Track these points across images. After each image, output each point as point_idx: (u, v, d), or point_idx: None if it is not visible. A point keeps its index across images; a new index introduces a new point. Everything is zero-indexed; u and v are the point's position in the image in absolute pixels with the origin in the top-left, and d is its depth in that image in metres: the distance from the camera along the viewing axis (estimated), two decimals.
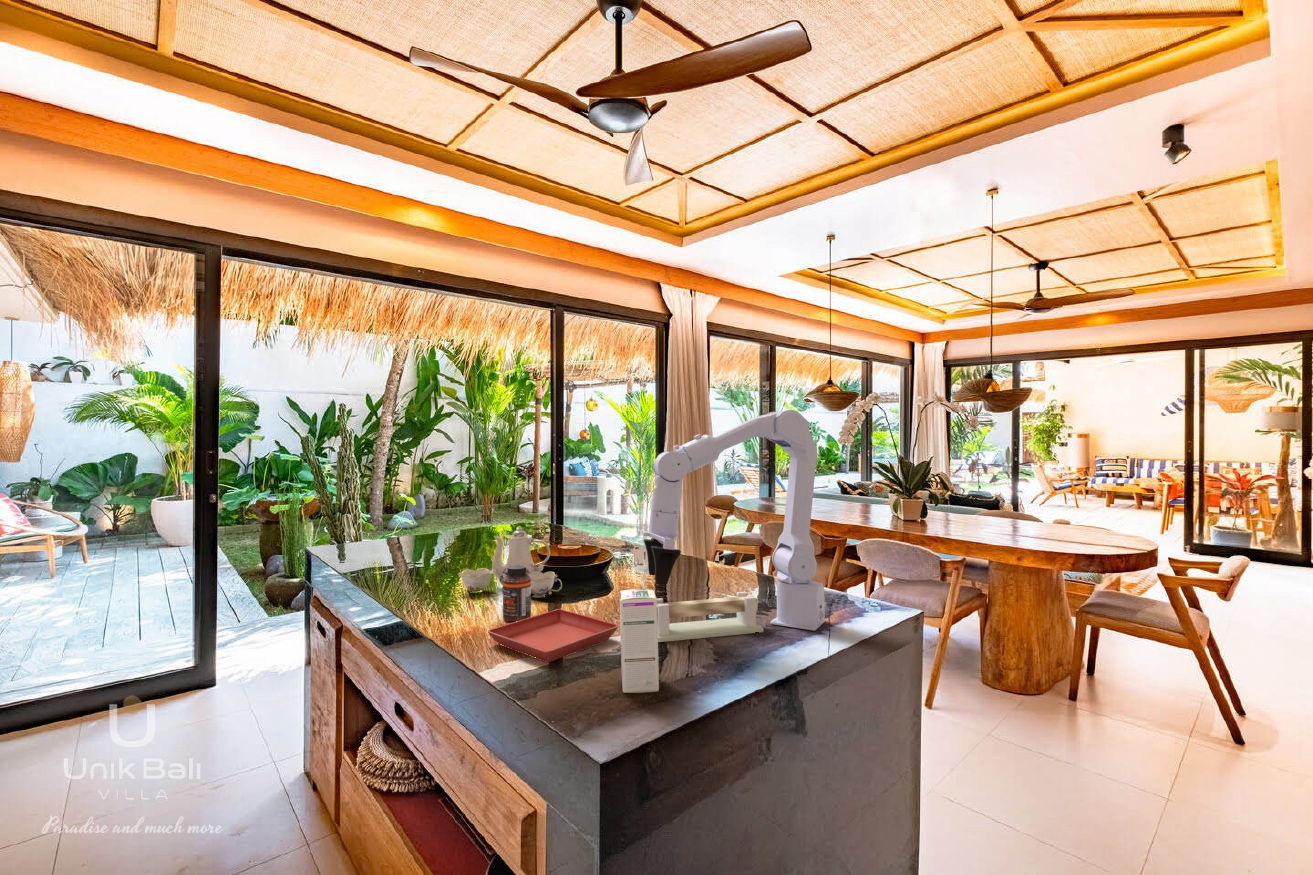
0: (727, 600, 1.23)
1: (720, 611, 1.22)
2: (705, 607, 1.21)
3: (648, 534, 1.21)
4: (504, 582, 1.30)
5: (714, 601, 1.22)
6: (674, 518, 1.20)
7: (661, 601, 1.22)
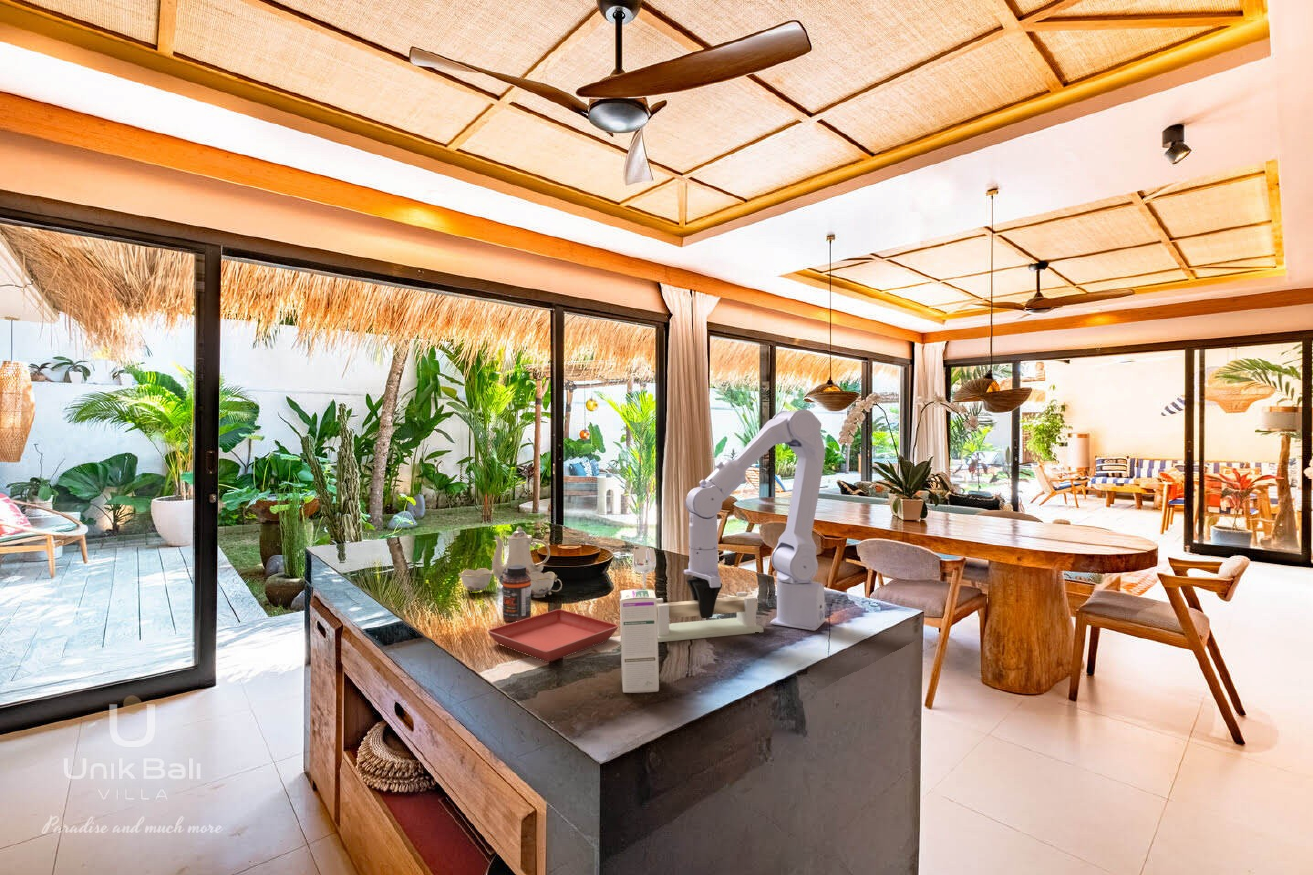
0: (727, 600, 1.23)
1: (720, 611, 1.22)
2: None
3: (690, 573, 1.21)
4: (504, 582, 1.30)
5: None
6: (714, 554, 1.21)
7: (661, 601, 1.22)
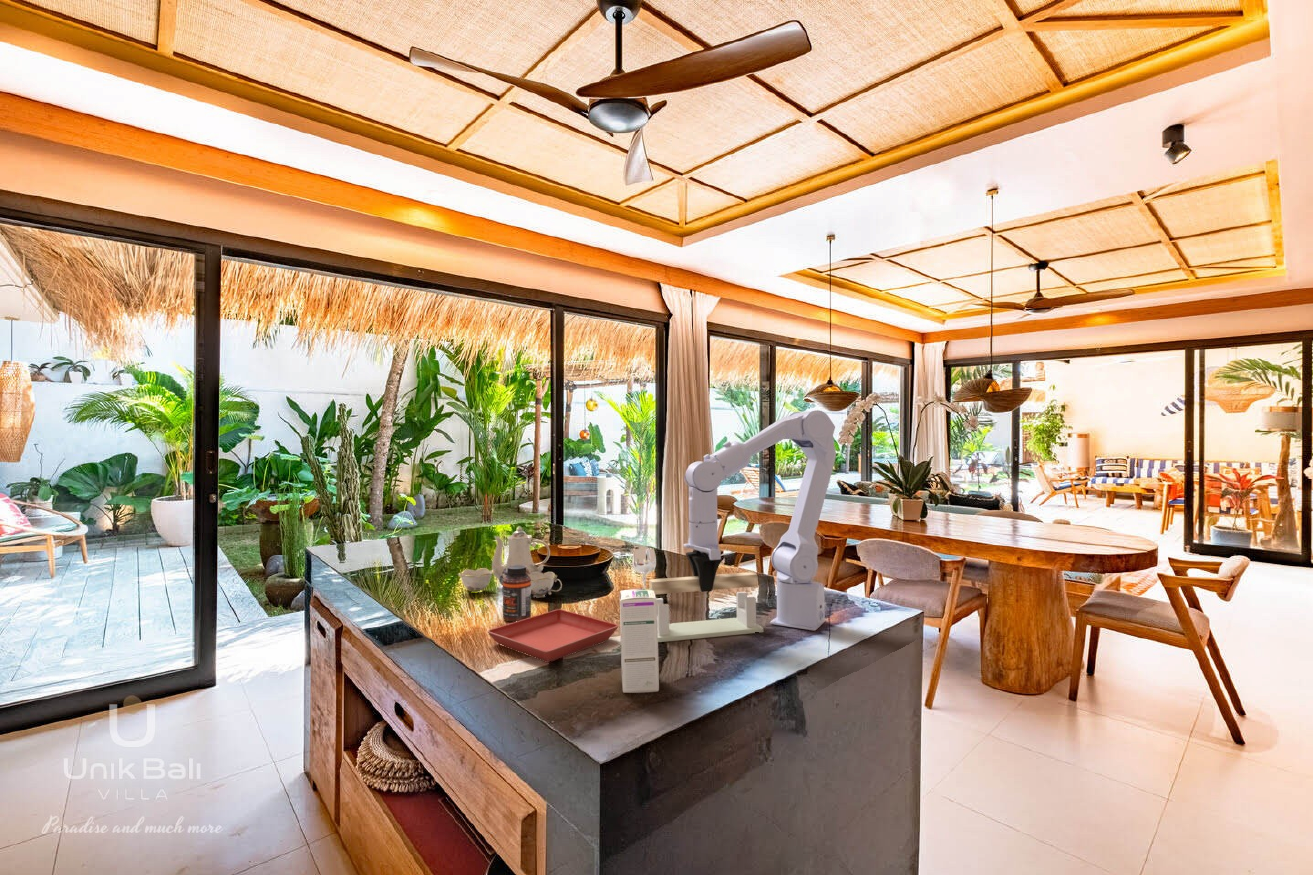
0: (727, 576, 1.23)
1: (720, 587, 1.22)
2: None
3: (690, 546, 1.21)
4: (504, 582, 1.30)
5: None
6: (714, 527, 1.21)
7: (661, 601, 1.22)
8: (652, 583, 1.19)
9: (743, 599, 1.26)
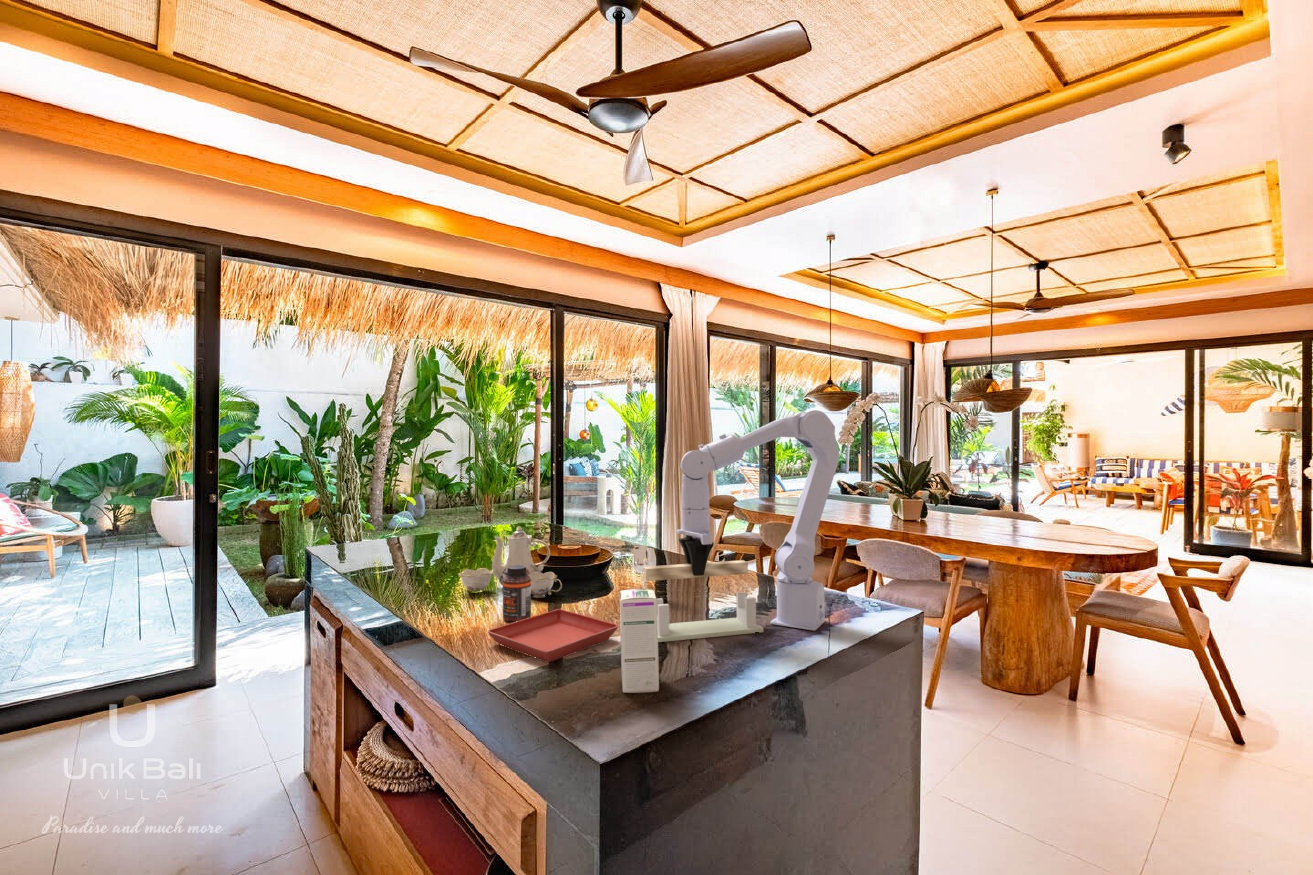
0: (718, 563, 1.28)
1: (712, 574, 1.27)
2: None
3: (683, 532, 1.25)
4: (504, 582, 1.30)
5: (706, 564, 1.27)
6: (706, 514, 1.25)
7: (661, 601, 1.22)
8: (646, 570, 1.23)
9: (743, 599, 1.26)
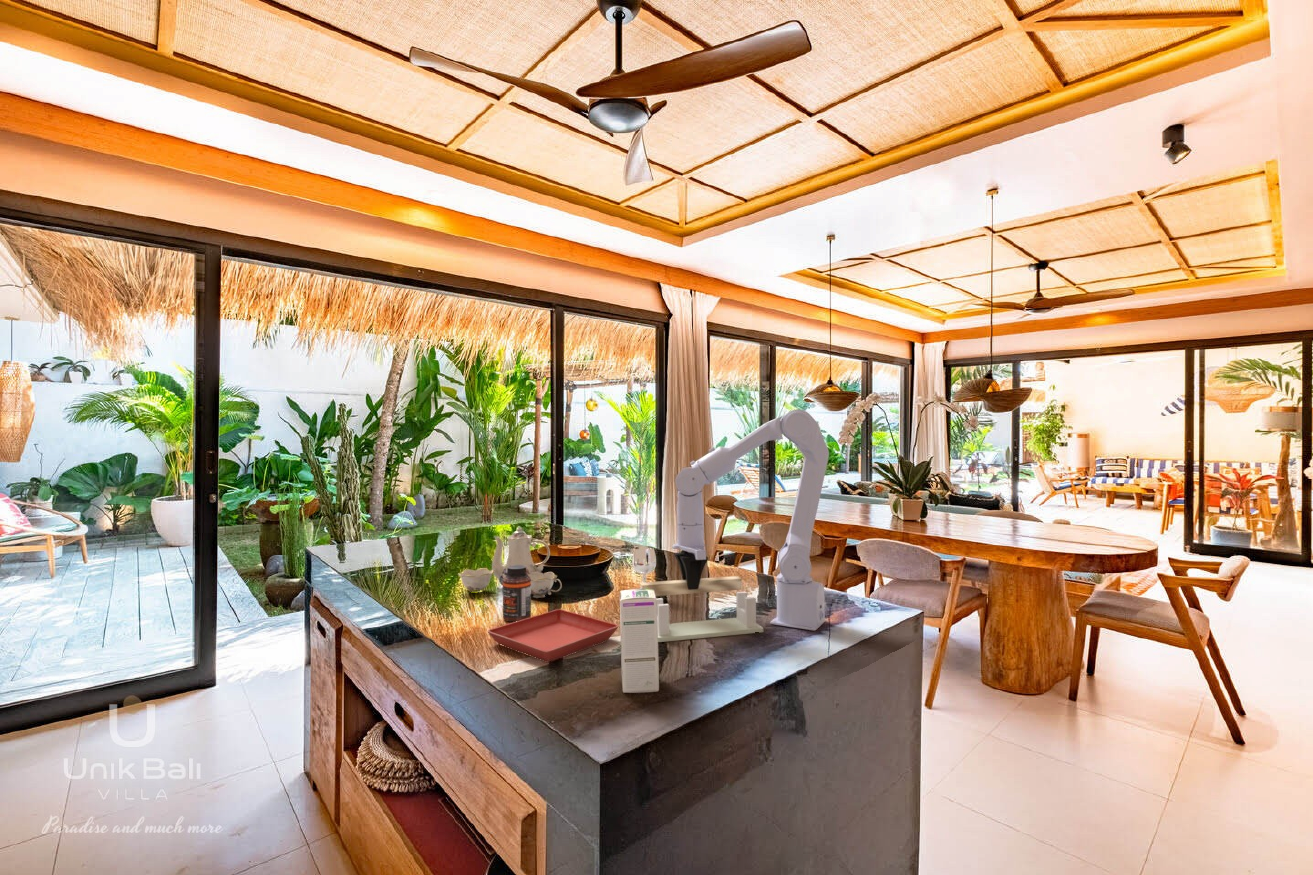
0: (713, 579, 1.31)
1: (706, 590, 1.30)
2: None
3: (678, 547, 1.29)
4: (504, 582, 1.30)
5: (701, 580, 1.31)
6: (700, 529, 1.29)
7: (661, 601, 1.22)
8: (642, 586, 1.27)
9: (743, 599, 1.26)
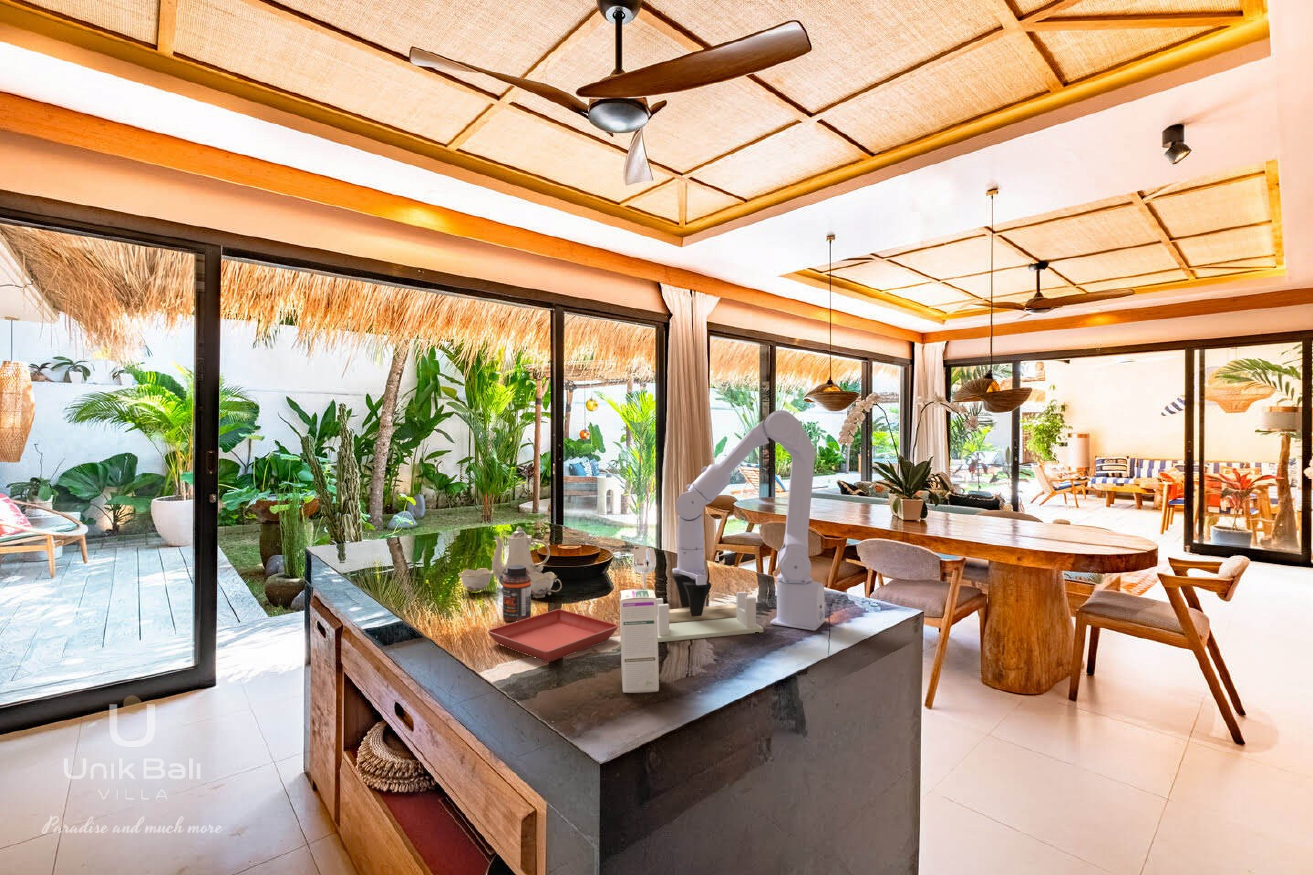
0: (713, 608, 1.31)
1: None
2: None
3: (678, 571, 1.29)
4: (504, 582, 1.30)
5: None
6: (701, 553, 1.29)
7: (661, 601, 1.22)
8: None
9: (743, 599, 1.26)
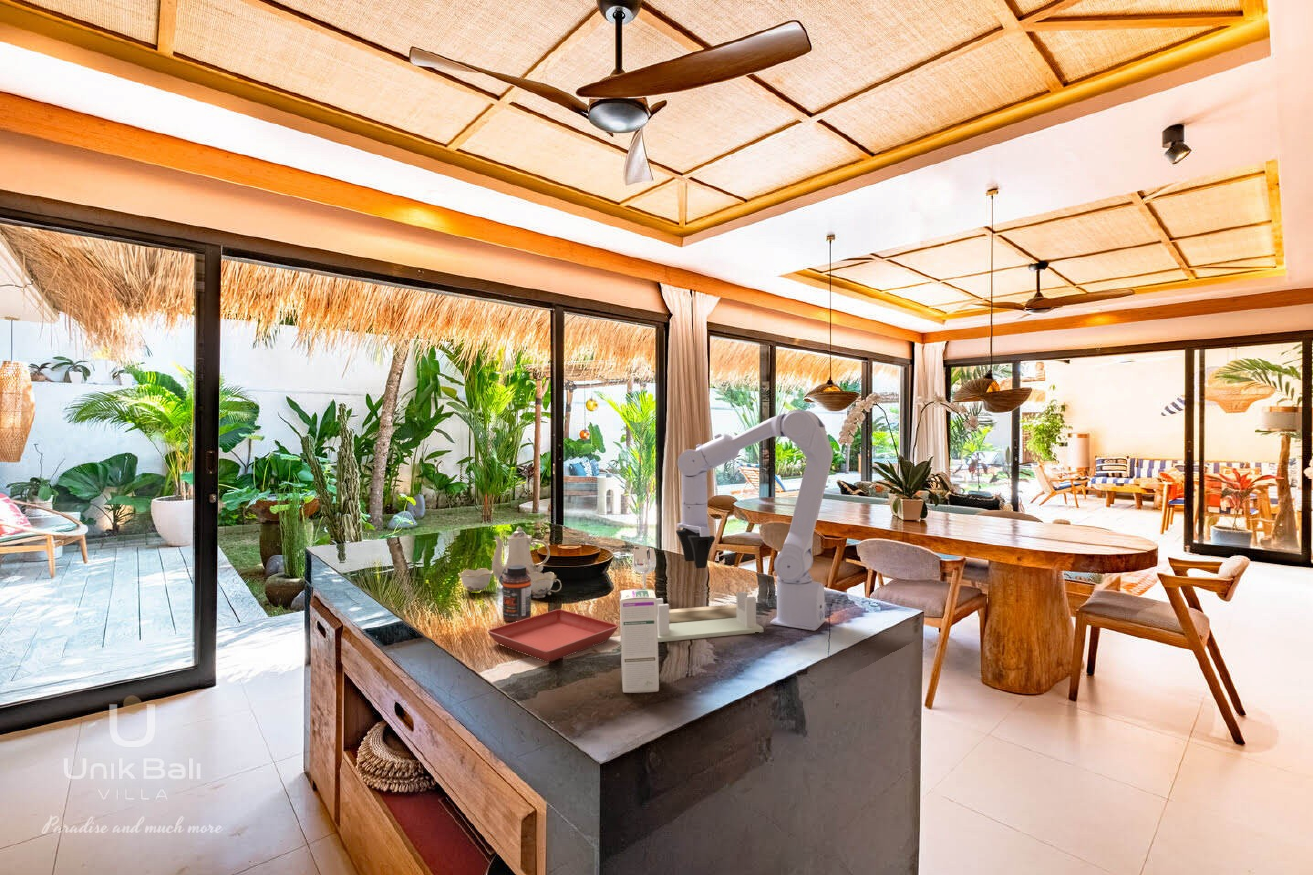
0: (713, 608, 1.31)
1: None
2: (693, 615, 1.30)
3: (683, 525, 1.35)
4: (504, 582, 1.30)
5: (701, 609, 1.31)
6: (704, 508, 1.35)
7: (661, 601, 1.22)
8: None
9: (743, 599, 1.26)
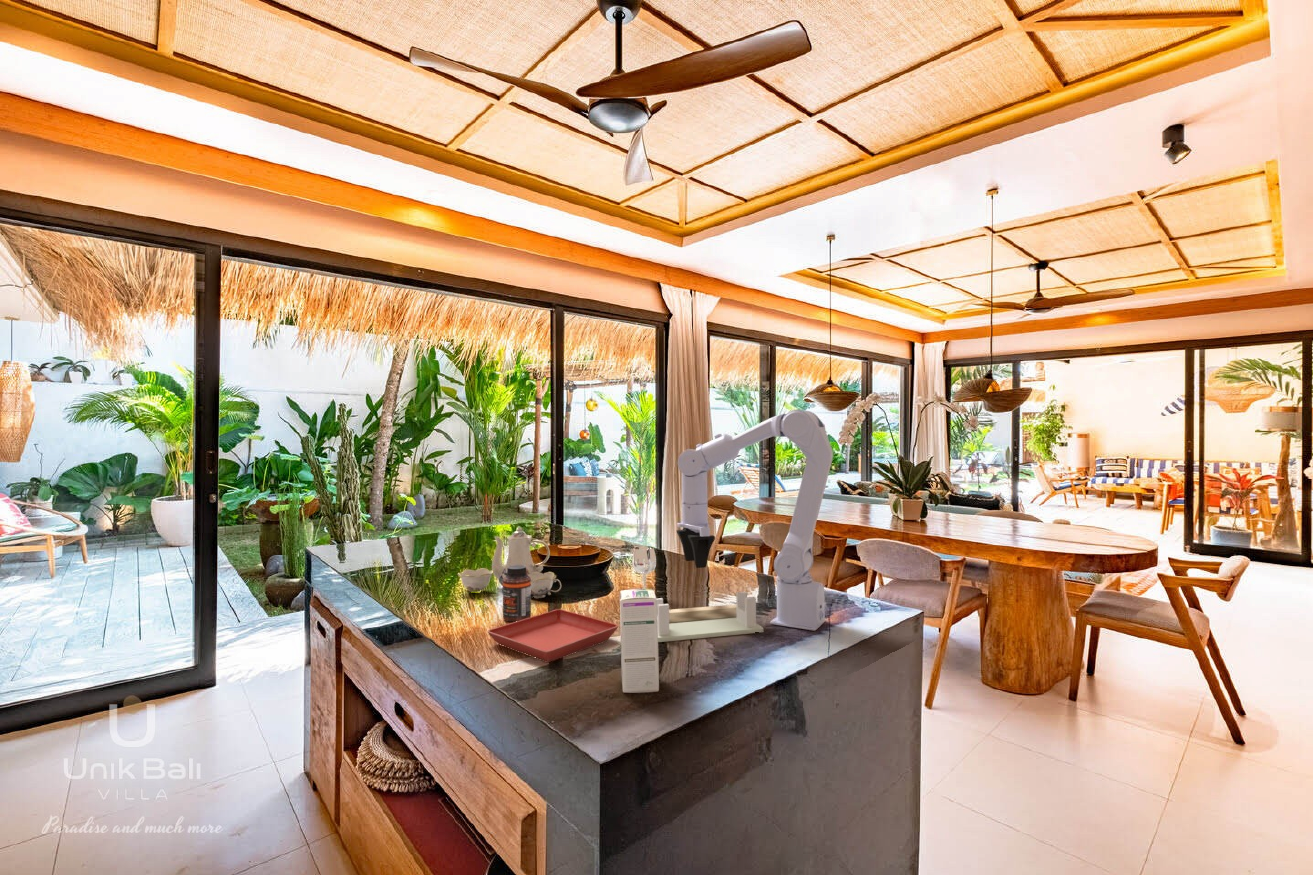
0: (713, 608, 1.31)
1: None
2: (693, 615, 1.30)
3: (683, 525, 1.35)
4: (504, 582, 1.30)
5: (701, 609, 1.31)
6: (704, 508, 1.35)
7: (661, 601, 1.22)
8: None
9: (743, 599, 1.26)
